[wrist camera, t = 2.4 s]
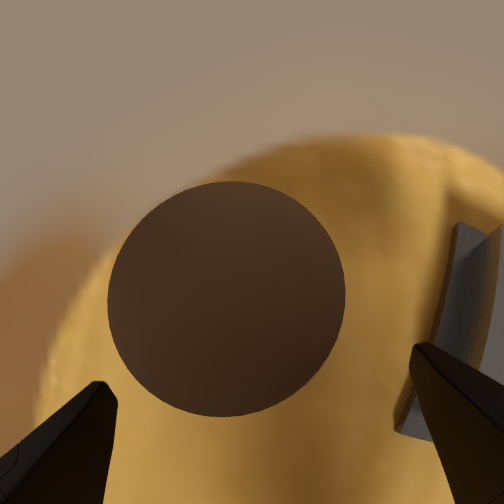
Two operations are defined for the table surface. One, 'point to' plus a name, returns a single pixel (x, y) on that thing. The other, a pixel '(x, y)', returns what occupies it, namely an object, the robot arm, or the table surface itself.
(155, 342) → the peg
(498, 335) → the socket
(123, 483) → the table surface
